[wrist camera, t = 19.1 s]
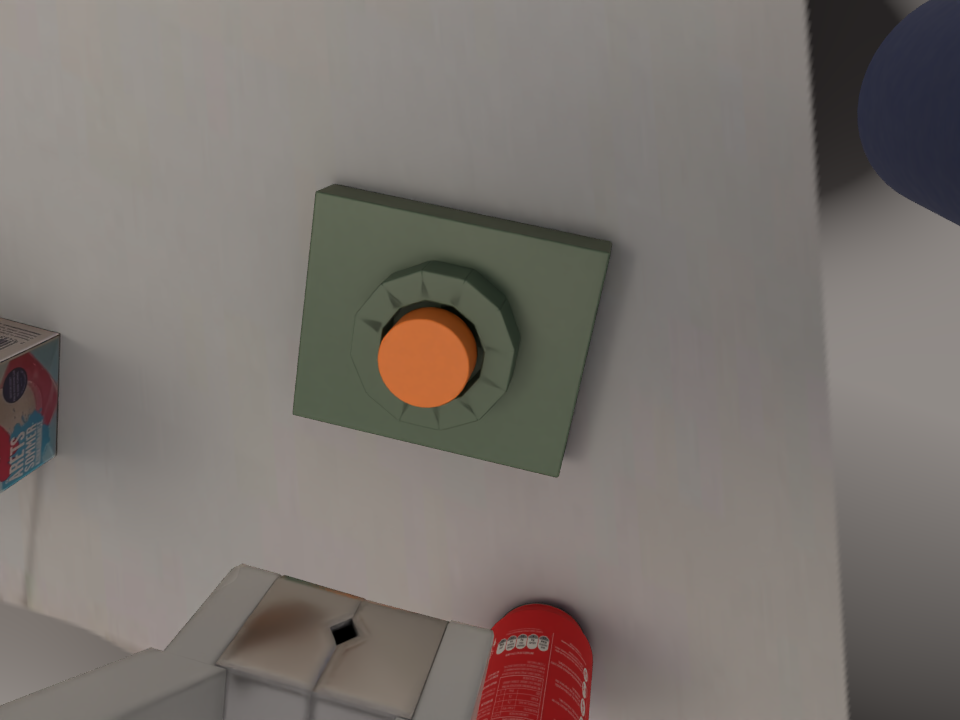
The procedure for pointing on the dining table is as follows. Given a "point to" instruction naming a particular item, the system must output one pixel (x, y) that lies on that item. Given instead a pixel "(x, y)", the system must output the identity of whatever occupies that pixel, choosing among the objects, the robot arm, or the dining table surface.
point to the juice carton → (27, 399)
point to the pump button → (427, 357)
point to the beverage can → (537, 667)
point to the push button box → (466, 293)
